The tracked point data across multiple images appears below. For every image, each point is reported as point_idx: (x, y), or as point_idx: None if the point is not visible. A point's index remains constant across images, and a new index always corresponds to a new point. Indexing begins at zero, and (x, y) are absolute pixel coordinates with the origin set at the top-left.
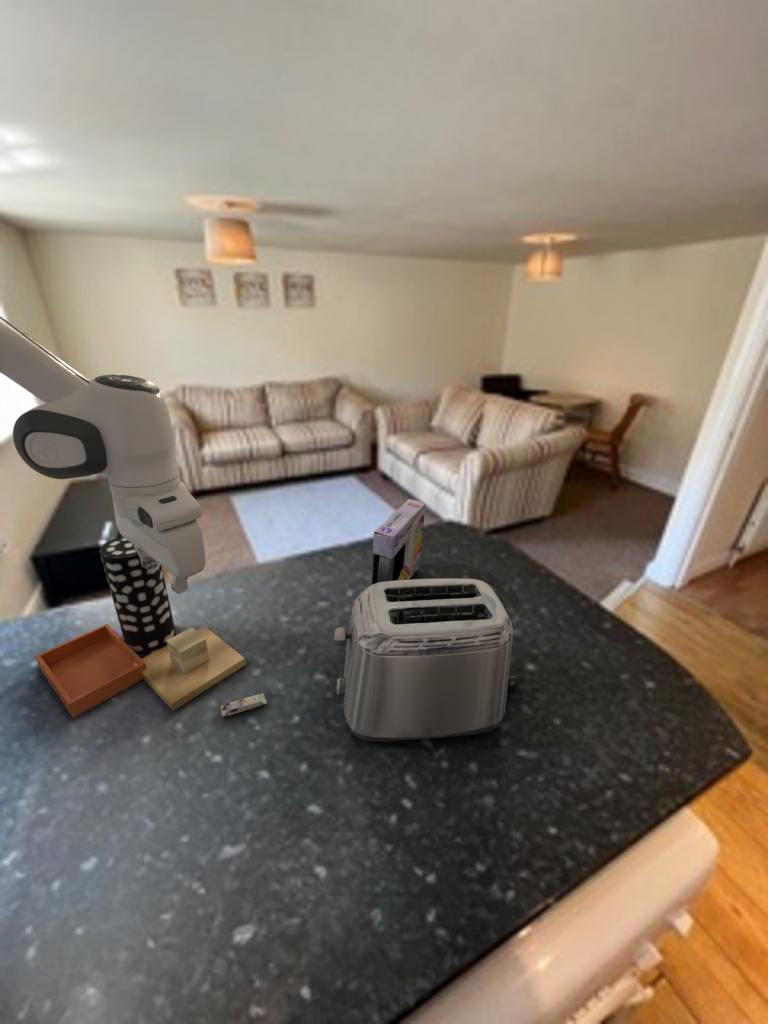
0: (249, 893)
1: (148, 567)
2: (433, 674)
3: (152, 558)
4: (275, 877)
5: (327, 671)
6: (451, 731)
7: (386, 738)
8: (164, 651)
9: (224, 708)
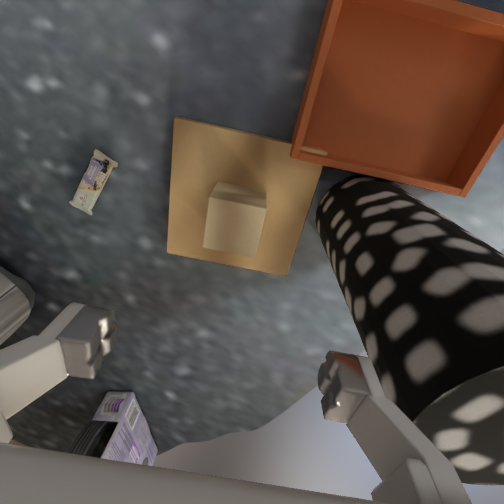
0: None
1: (329, 362)
2: None
3: (123, 469)
4: None
5: (71, 285)
6: None
7: None
8: (298, 202)
9: (106, 162)
